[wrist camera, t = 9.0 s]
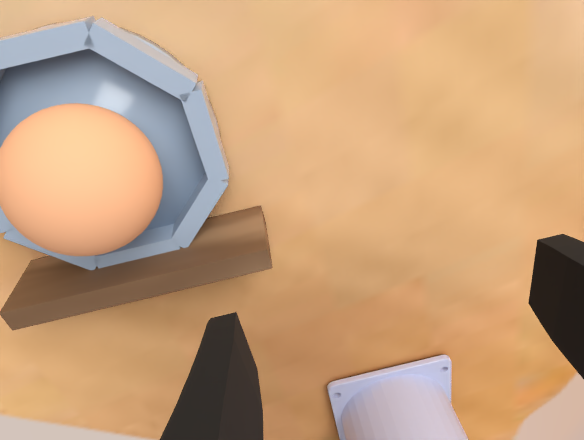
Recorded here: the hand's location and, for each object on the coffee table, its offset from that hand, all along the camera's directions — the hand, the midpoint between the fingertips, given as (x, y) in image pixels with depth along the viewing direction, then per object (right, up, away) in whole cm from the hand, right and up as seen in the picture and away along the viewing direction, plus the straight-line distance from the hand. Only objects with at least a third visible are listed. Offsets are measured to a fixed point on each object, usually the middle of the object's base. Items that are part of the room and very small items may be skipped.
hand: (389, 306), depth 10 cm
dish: (-10, +5, +8) cm, 14 cm away
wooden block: (-9, +1, +10) cm, 14 cm away
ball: (-10, +5, +7) cm, 13 cm away
